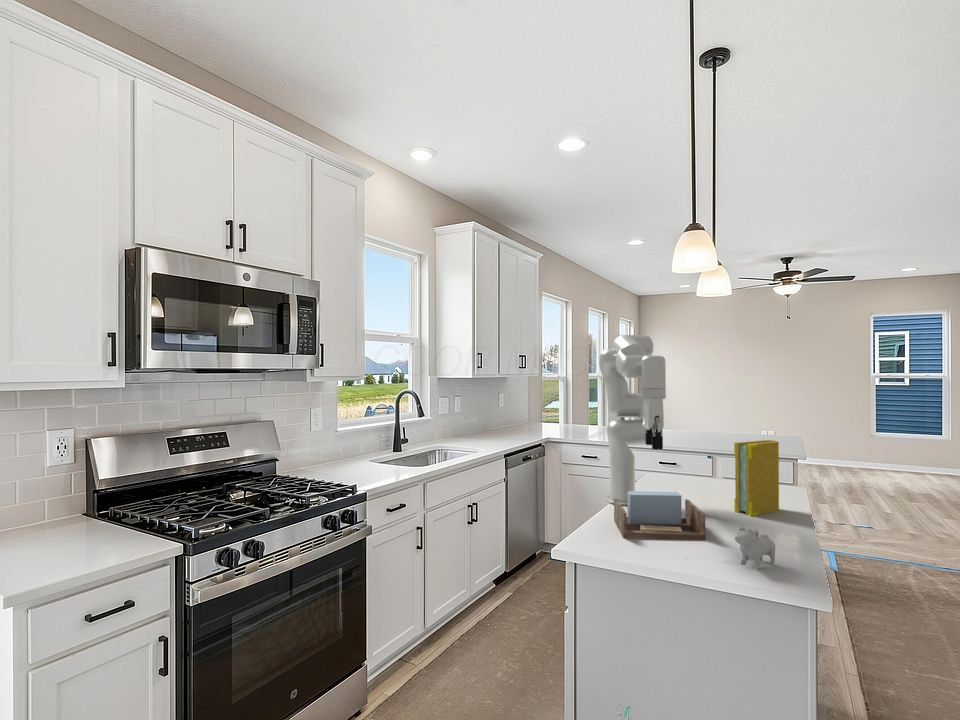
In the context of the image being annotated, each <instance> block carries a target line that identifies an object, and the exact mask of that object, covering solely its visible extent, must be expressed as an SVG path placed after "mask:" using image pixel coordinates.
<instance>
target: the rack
mask: <svg viewBox="0 0 960 720" xmlns="http://www.w3.org/2000/svg"><path fill="white" fill-rule="evenodd" d="M613 507H614V508H613V518H614V519H613V521H614V524H615V526H616V527H617V529H618V531H619V532H620V535H621V537H622V539H632V540H633V539H635V540H636V539H638V540H639V539H641V540H647V539H648V540H688V541H689V540H691V541H693V540H694V541H697V540H698V541H705V540H706V513H704V511H702V509H700V508H699V507H698V506H697V505H695V503H693V502H692V501H690V500H689V499H686V498H685V499H684V517H682V525H681V524H628V520H627V511H626V510H625V507H624V506H623V505H621V504H620V502H619V500H618V499H617V498H614V504H613ZM640 525H650V526H667V527H681V529H682V533H654V532H640ZM628 530H634V531H628ZM684 531H685V532H684ZM686 531H687V532H686ZM691 532H694V533H691Z"/></svg>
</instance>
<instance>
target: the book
mask: <svg viewBox="0 0 960 720" xmlns="http://www.w3.org/2000/svg"><path fill="white" fill-rule="evenodd" d="M779 443H780V442H779V441H778V440H771V439H769V440H768V439H763V440H762V439H760V440H751V441H749V440H748V441H738V442H737V441H736V442H733V448H734V449H733V452H734V453H733V454H734V457H735V458H734V460H735V463H734V465H735V478H734V479H735V481H734V482H735V491H734V492H735V498H734V512H735V513H738V514H740V512H741V513H745V516H748V515H749V517H754V516H758V515H761V514H763V513H764V514H768V513H776V512H779V511H780V481H779V480H780V478H779V477H780V469H779V468H780V466H779V465H780V464H779V463H780V462H779V459H780V458H779V457H780V455H779V453H780V452H779V450H780V448H779V447H780V446H779ZM764 514H763V515H764ZM753 515H754V516H753Z"/></svg>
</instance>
